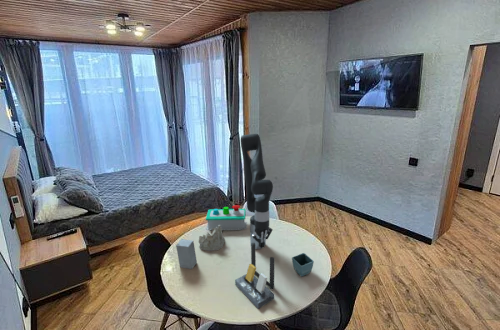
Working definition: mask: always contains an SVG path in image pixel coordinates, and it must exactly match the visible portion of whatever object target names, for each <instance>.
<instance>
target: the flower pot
mask: <svg viewBox="0 0 500 330" xmlns="http://www.w3.org/2000/svg"><path fill="white" fill-rule="evenodd" d="M291 261H292V266H293V270H295V272H296V273H297V274H298V275H299V276H300V277H304V276H306V275H308V274H310V273H311V272H312V269H313V267H314V262H315V261H314V260H313V259H312V258H311V257H310V256H308V255H307V254H306V253H305V252H303V253H300V254H297V255H295V256H292V257H291Z"/></svg>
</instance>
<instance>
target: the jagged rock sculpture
mask: <svg viewBox="0 0 500 330" xmlns="http://www.w3.org/2000/svg"><path fill="white" fill-rule="evenodd" d="M211 231H212V232H211V234H210V233H209V231H207V232H206V233H205V234H202V236H201V235H199V237H198V238H199V239H198V243H199V246H198V248H199V249H200V250H204V251H209V252H210V251H218V250H220V249H221V248H223V247H224V243H225V240H226V239H225V236H224V234H223V232H222V231H223V230H222V229H221V225H218V228H217V227H216V228H212V230H211Z"/></svg>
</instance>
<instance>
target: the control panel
mask: <svg viewBox="0 0 500 330" xmlns="http://www.w3.org/2000/svg"><path fill="white" fill-rule="evenodd" d="M246 209H247V208H241V205H239V204H235V205H232V207H231V208H230V207H228V206H224V207H223V208H222V209H221V208H219V209H218V208H214V209H213V208H211V209H207V213H206V216H205V221H207V223H206V228H205V230H206V231H212V228H216V227H217V228H218V225H221V229H222V231H241V230H247V229H248V227H247V225H248V224H247V223H248V222H246V221H245V220H246V213H247V212H246Z"/></svg>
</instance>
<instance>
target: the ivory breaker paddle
mask: <svg viewBox="0 0 500 330" xmlns="http://www.w3.org/2000/svg"><path fill="white" fill-rule="evenodd" d="M259 274H260V275H259V276H258V278H257V279H258V282H257V286H256V289H257V290H258V291H259V292H260V293H261V292H263V291H264V288H265V286H266V285H267V284H266V281H268V276H266V275H265V274H264V272H263V273H259Z"/></svg>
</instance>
